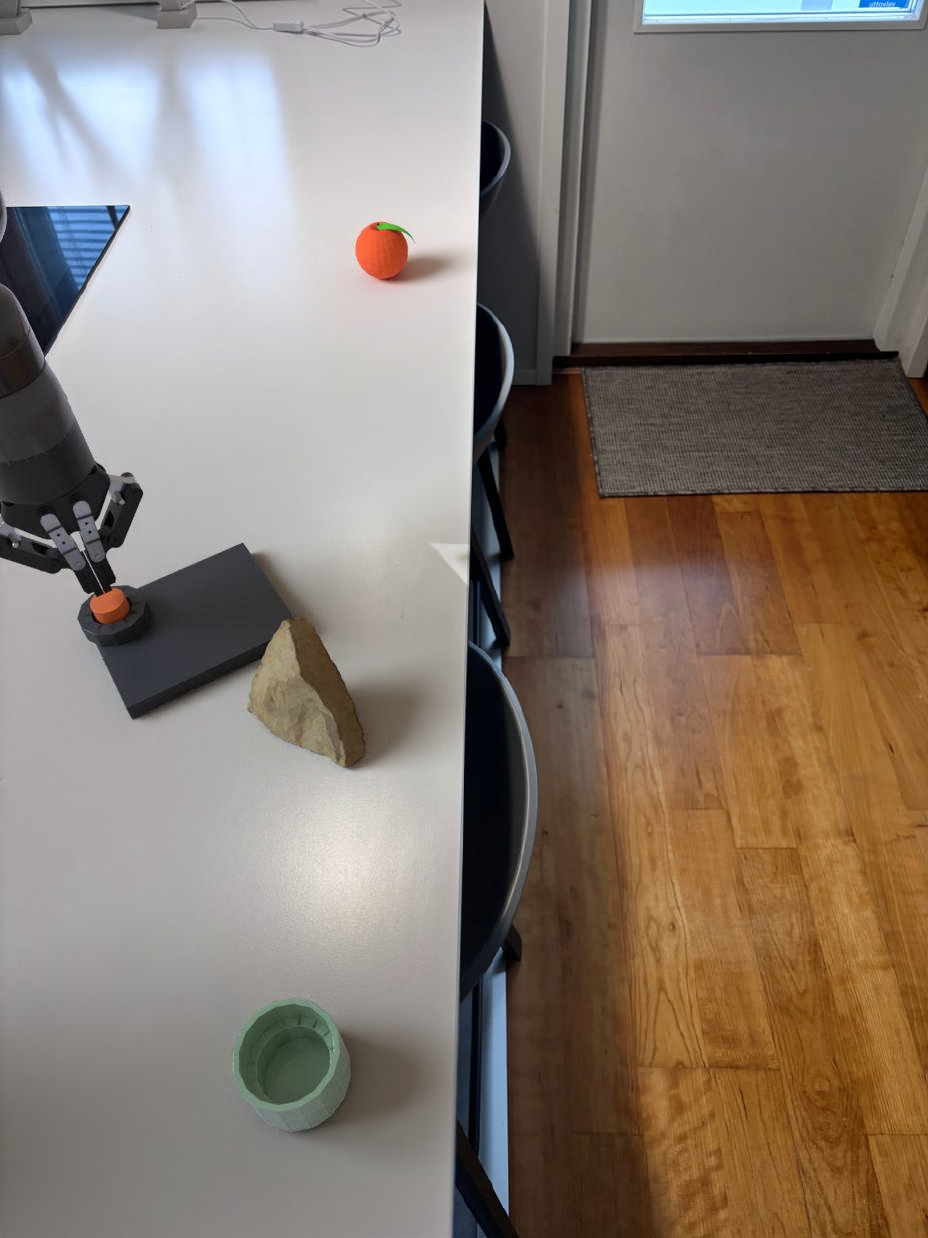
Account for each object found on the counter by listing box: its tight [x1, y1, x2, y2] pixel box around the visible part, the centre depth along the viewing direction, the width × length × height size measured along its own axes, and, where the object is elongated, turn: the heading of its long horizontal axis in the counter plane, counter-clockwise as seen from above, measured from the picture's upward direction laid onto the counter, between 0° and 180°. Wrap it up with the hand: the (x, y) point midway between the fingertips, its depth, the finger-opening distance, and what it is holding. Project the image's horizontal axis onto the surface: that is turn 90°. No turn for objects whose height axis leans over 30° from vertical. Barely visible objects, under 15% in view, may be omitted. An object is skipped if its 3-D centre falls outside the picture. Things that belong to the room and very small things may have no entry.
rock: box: [246, 617, 367, 769], centre depth 76 cm, size 11×9×10 cm
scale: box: [76, 542, 295, 720], centre depth 85 cm, size 16×13×3 cm
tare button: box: [90, 588, 130, 624], centre depth 84 cm, size 3×3×2 cm
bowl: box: [232, 997, 352, 1133], centre depth 58 cm, size 6×6×5 cm
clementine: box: [354, 221, 416, 280], centre depth 124 cm, size 8×7×7 cm
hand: (102, 587), depth 82 cm, fingers closed
